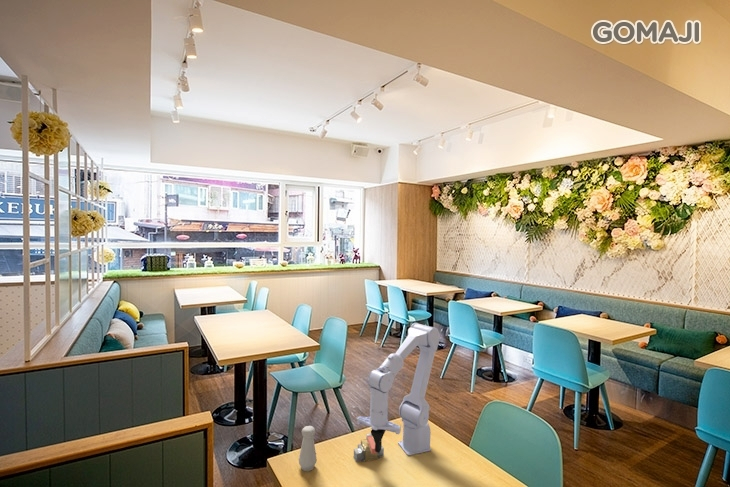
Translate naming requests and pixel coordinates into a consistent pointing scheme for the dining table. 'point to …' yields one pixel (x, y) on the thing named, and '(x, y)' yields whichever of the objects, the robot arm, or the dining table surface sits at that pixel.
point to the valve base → (366, 452)
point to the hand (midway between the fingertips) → (377, 450)
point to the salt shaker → (307, 449)
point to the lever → (371, 443)
